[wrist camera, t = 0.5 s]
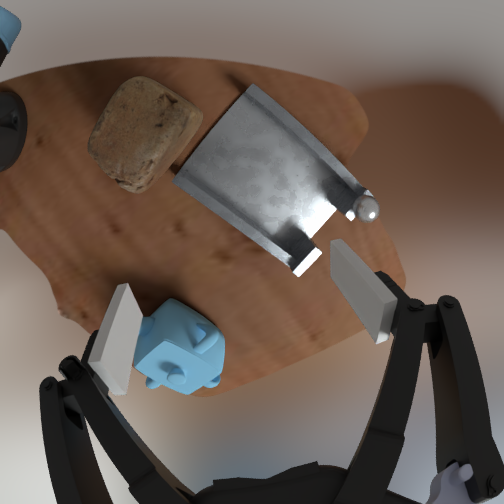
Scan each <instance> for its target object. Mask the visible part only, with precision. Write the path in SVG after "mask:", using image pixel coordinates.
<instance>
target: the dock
mask: <svg viewBox="0 0 504 504" xmlns="http://www.w3.org/2000/svg"><path fill="white" fill-rule="evenodd" d="M172 182H173V183H174V184H175V185H177V186H178V187H180V188H181V189H182V190H184V191H185V192H187V193H188V194H189V195H191V196H192V197H194V198H195V199H196V200H198V201H199V202H201V203H202V204H203V205H205V206H206V207H208V208H209V209H210V210H212V211H213V212H215V213H216V214H217V215H219V216H220V217H222V218H223V219H224V220H226V221H227V222H228V223H230V224H231V225H233V226H234V227H235V228H237V229H238V230H240V231H241V232H242V233H244V234H245V235H246V236H248V237H249V238H251V239H252V240H253V241H255V242H256V243H258V244H259V245H260V246H262V247H263V248H264V249H266V250H267V251H269V252H270V253H271V254H273V255H274V256H275V257H277V258H278V259H279V260H281V261H282V262H284V263H285V264H286V265H288V266H289V267H290V268H291V270H292V272H293V273H294V274H296V275H297V276H298V277H299V276H300V275H301V274H302V273H303V272H304V271H305V270H306V269H307V268H308V267H309V266H310V265H311V264H312V263H313V262H314V261H315V260H316V259H317V258H318V256H319V255H320V254H321V253H322V252H321V251H320V249H319V248H318V247H317V246H316V244H315V243H314V242H313V240H312V239H311V237H312V236H313V235H314V234H315V233H316V231H317V230H318V229H319V228H320V227H321V226H322V225H323V224H324V223H325V222H326V220H327V219H328V218H329V217H330V216H331V215H332V214H333V213H334V212H335V210H336V209H337V210H338V211H339V212H341V213H342V214H343V215H345V216H346V217H347V218H348V219H350V220H352V219H353V218H354V217H356V218H357V219H358V220H359V221H361V222H364V223H370V222H373V221H374V220H375V219H376V218H377V217H378V215H379V212H380V206H379V203H378V202H377V200H376V199H375V198H374V197H373V195H372V194H371V193H370V192H369V191H368V189H366V188H364V187H362V186H361V185H360V183H359V182H358V181H357V180H356V179H355V178H354V177H353V176H352V175H351V173H350V172H349V171H348V170H347V169H346V168H345V167H344V166H343V165H342V164H341V163H340V162H339V161H338V160H337V159H336V158H335V157H334V156H333V154H332V153H331V152H330V151H329V150H328V149H327V148H326V147H325V146H324V145H323V144H322V143H321V142H319V141H318V140H317V139H316V138H315V137H314V136H313V135H312V134H311V133H310V132H309V131H308V130H307V129H306V128H305V127H304V126H303V125H302V124H300V123H299V122H298V121H297V120H296V119H295V118H294V117H293V116H292V115H290V114H289V113H288V112H287V111H286V110H285V109H284V108H282V107H281V106H280V105H279V104H278V103H277V102H275V101H274V100H273V99H272V98H271V97H269V96H268V95H267V94H266V93H265V92H263V91H262V90H261V89H260V88H258V87H257V86H256V85H255V84H252V85H251V86H250V87H249V88H248V89H247V90H246V91H245V92H244V93H243V94H242V95H241V97H240V98H239V99H238V100H237V101H236V102H235V103H234V104H233V105H232V107H231V108H230V109H229V110H228V111H227V112H226V113H225V115H224V116H223V117H222V118H221V119H220V120H219V122H218V123H217V124H216V125H215V126H214V128H213V129H212V130H211V131H210V132H209V134H208V135H207V136H206V137H205V139H204V140H203V141H202V142H201V143H200V145H199V146H198V147H197V149H196V150H195V151H194V152H193V154H192V155H191V156H190V158H189V159H188V160H187V161H186V163H185V164H184V165H183V167H182V168H181V169H180V171H179V172H178V173H177V175H176V176H175V178H174V179H173V180H172Z"/></svg>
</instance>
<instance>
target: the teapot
mask: <svg viewBox="0 0 504 504" xmlns="http://www.w3.org/2000/svg"><path fill="white" fill-rule="evenodd" d="M224 354H225V339H224V336H223V334H222V332H221V331H220V330H219V329H218V328H217V327H216V326H215V325H214V324H212V323H211V322H210V321H209V320H207V319H206V318H205V317H203V316H202V315H200V314H199V313H197V312H196V311H194V310H193V309H191V308H189V307H188V306H186V305H184V304H183V303H181V302H179V301H177V300H175V299H173V298H169V299H168V300H167V301H165V302H164V303H163V304H162V305H161V306H160V307H159V308H158V309H157V310H156V311H155V312H154V313H153V314H152V315H151V316H150V317H143V318H142V322H141V326H140V330H139V334H138V338H137V343H136V347H135V352H134V367H135V368H136V369H137V370H139V371H140V372H141V373H143V374H144V375H146V376H148V377H147V379H146V386H147V387H148V388H150V389H154V388H157V387H158V386H160V385H161V384H162V385H164V386H166V387H169V388H171V389H173V390H176V391H178V392H180V393H183V394H190V393H192V392H194V391H195V390H197V389H199V388H200V387H202V386H205V387H208V388H212V387H215V386H217V385H218V384H219V382H220V375H219V374H220V373H221V372H222V368H223V362H224ZM211 380H212V381H211Z"/></svg>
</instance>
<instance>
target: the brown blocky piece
mask: <svg viewBox="0 0 504 504" xmlns="http://www.w3.org/2000/svg"><path fill="white" fill-rule="evenodd" d="M202 119H203V114H202V112H201V110H200V109H199V108H198V107H196V106H195V105H194V104H192V103H191V102H189V101H187V100H186V99H184V98H183V97H181V96H180V95H178V94H176V93H175V92H173V91H171V90H170V89H168V88H166V87H165V86H163V85H161V84H160V83H158V82H156V81H154V80H153V79H150V78H148V77H143V76H137V77H133V78H131V79H129V80H127V81H125V82H124V83H123V84H122V85H120V86H119V88H118V89H117V90H116V92H115V93H114V94H113V96H112V97H111V99H110V101H109V103H108V104H107V106H106V108H105V109H104V111H103V112H102V114H101V116H100V117H99V119H98V121H97V123H96V125H95V127H94V129H93V131H92V134H91V136H90V138H89V142H88V152H89V154H90V155H91V157H92V158H93V159H94V160H95V161H96V162H97V163H98V165H99V167H100V168H101V169H102V170H103V171H104V172H105V173H106V174H107V175H108V176H109V177H111V178H112V179H115V180H116V181H117V183H118V185H119V186H120V187H122V188H123V189H126V190H127V191H129V192H132V193H136V194H138V193H142V192H144V191H146V190H147V189H149V188H150V187H151V186H152V185H153V184H154V183H155V182H156V181H157V180H158V179H159V178H160V177H161V176H162V175H163V173H164V172H165V171H166V170H167V169H168V168H169V167H170V165H171V164H172V163H173V162H174V161H175V160H176V158H177V157H178V156H179V155H180V153H181V152H182V151H183V150H184V148H185V147H186V146H187V144H188V143H189V142H190V140H191V139H192V138H193V136H194V135H195V133H196V132H197V130H198V129H199V127H200V125H201V123H202Z"/></svg>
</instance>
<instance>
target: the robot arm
mask: <svg viewBox="0 0 504 504" xmlns="http://www.w3.org/2000/svg"><path fill="white" fill-rule="evenodd" d="M20 30H21V21H20V20H19V18H17V17H16V16H15V15H14V14H12V13H11V12H9V11H8V10H6V9H5V8H3V7H1V6H0V67H1V65H2V63H3V61H4V59H5V57H6V55H7V54H8V53H9V52H10V49H11V46H12V44H13V42H14V41H15V39H16V37H17V36H18V34H19V32H20ZM26 133H27V113H26V108H25V105H24V103H23V101H22V99H21V98H20V97H19V96H18V95H17V94H16V93H13V92H0V172H2V171H4V170H7V169H8V168H10V167H11V166H12V165H13V164H14V163H15V161H16V160H17V159H18V157H19V155H20V153H21V151H22V148H23V146H24V142H25V138H26ZM330 259H331V278H332V280H333V281H334V282H335V284H336V285H337V287H338V288H339V290H340V291H341V292H342V294H343V295H344V297H345V298H346V300H347V301H348V303H349V304H350V306H351V307H352V308H353V310H354V311H355V313H356V314H357V316H358V317H359V319H360V320H361V322H362V323H363V325H364V326H365V328H366V329H367V331H368V332H369V334H370V335H371V337H372V338H373V340H374V341H375V343H376V344H378V343H381V342H383V341H386V340H388V339H389V335H390V331H391V333H392V334H393V336H394V339H393V343H392V346H391V351H390V355H389V359H388V363H387V366H386V370H385V373H384V377H383V380H382V383H381V386H380V390H379V393H378V396H377V399H376V402H375V405H374V407H373V410H372V413H371V416H370V419H369V421H368V424H367V426H366V429H365V431H364V434H363V436H362V439H361V441H360V443H359V446H358V448H357V450H356V452H355V455H354V457H353V459H352V461H351V463H350V465H349V467H348V469H344V468H341V467H337V466H331V465H318V462H317V461H316V462H312V463H308V464H304V465H301V466H297V467H293V468H290V469H288V470H286V471H284V472H282V473H279V474H277V475H275V476H272V477H271V478H268V479H253V478H239V477H237V478H229V479H219V480H213V485H211V486H209V487H206V488H205V489H203V490H201V491H200V492H198V493H197V494H195V493H194V492H192V491H191V490H190V489H189V488H187V487H186V486H185V485H184V484H182V483H181V482H180V481H179V480H178V479H177V478H176V477H175V476H174V475H173V474H172V473H171V472H170V471H169V470H168V469H167V468H166V467H165V465H164V464H163V463H162V462H161V461H160V460H159V459H158V458H157V457H156V456H155V455H154V454H153V452H152V451H151V450H150V449H149V448H148V447H147V445H146V444H145V443H144V442H143V441H142V439H141V438H140V437H139V436H138V434H137V433H136V432H135V431H134V430H133V428H132V427H131V426H130V424H129V423H128V422H127V420H126V419H125V418H124V416H123V415H122V414H121V412H120V411H119V409H118V408H117V407H116V405H115V404H114V403H113V401H112V400H111V398H110V397H109V396H108V391H109V390H110V391H111V392H112V393H113V394H114V395H126V393H127V387H128V381H129V377H130V372H131V366H132V362H133V357H134V352H135V347H136V343H137V338H138V334H139V330H140V326H141V322H142V318H143V315H142V313H141V311H140V308H139V306H138V304H137V302H136V300H135V298H134V296H133V293H132V291H131V289H130V287H129V284H128V283H125V284H120V285H118V286H117V288H116V290H115V292H114V295H113V297H112V299H111V302H110V304H109V307H108V309H107V311H106V314H105V316H104V319H103V321H102V324H101V327H100V329H99V330H95V331H94V332H93V333H92V335H91V336H90V338H89V340H88V344H87V345H86V348H85V349H86V350H85V351H84V354H83V356H82V359H81V362H80V360H79V359H78V358H77V357H76V356H74V355H71V356H68V357H66V358H64V359H63V360H62V361H61V363H60V364H59V372H60V373H61V374H62V375H63V377H64V378H65V380H62V381H59V382H58V381H57V380H56V379H55V378H54V377H51V376H50V377H47V378H45V379H44V380H43V381H42V382H41V384H40V388H39V389H40V390H39V393H40V411H41V423H42V431H43V440H44V446H45V453H46V458H47V464H48V468H49V474H50V478H51V482H52V486H53V490H54V494H55V497H56V501H57V504H113V502H112V500H111V498H110V495H109V492H108V490H107V488H106V485H105V482H104V480H103V477H102V475H101V472H100V469H99V466H98V463H97V460H96V457H95V454H94V451H93V447H92V444H91V440H90V437H89V433H88V429H87V425H86V421H85V418H86V420H87V421H88V423H89V425H90V427H91V429H92V430H93V432H94V434H95V435H96V437H97V439H98V440H99V442H100V444H101V445H102V447H103V448H104V450H105V452H106V453H107V455H108V456H109V458H110V459H111V461H112V462H113V464H114V465H115V466H116V468H117V469H118V471H119V472H120V473H121V475H122V476H123V477H124V479H125V480H126V481H127V483H128V484H129V488H128V489H129V491H130V493H131V494H132V495H133V497H134V498H135V499H136V500H137V502H138V503H139V504H421V503H419V502H416V501H413V500H411V499H409V498H406V497H404V496H401V495H399V494H396V493H394V492H392V491H390V490H387V488H388V485H389V483H390V480H391V478H392V475H393V473H394V470H395V468H396V465H397V462H398V459H399V456H400V453H401V450H402V447H403V444H404V440H405V437H404V431H405V427H406V424H407V421H408V417H409V413H410V409H411V405H412V401H413V396H414V392H415V387H416V382H417V377H418V372H419V366H420V360H421V353H422V346H423V343H427V346H428V353H429V359H430V366H431V373H432V381H433V391H434V402H435V418H436V465H437V473H438V474H437V475H436V476H435V477H434V479H433V480H432V482H431V486H430V497H429V499H428V501H427V503H426V504H481V503H483V502H485V501H488V500H490V499H492V498H494V497H496V496H498V495H499V494H500V493H501V492H502V491H503V489H504V464H503V461H502V459H501V456H500V454H499V451H498V449H497V447H496V444H495V442H494V440H493V437H492V432H491V424H490V416H489V409H488V403H487V398H486V393H485V387H484V383H483V378H482V374H481V370H480V366H479V362H478V358H477V354H476V351H475V347H474V344H473V341H472V337H471V335H470V332H469V328H468V325H467V322H466V319H465V317H464V314H463V311H462V308H461V306H460V303H459V301H458V300H457V299H456V298H455V297H452V296H449V295H444V296H441V297H440V298H439V300H438V302H437V304H430V305H425V304H424V303H423V302H422V301H420V300H418V299H413V298H409V296H407V295H406V293H405V292H404V291H403V290H402V289H401V288H400V287H399V286H398V285H397V284H396V283H395V282H394V281H393V280H392V279H391V278H390V276H389V275H387V274H385V273H383V272H382V271H378V272H375V273H374V272H373V271H372V270H371V269H370V268H369V267H368V266H367V265H366V264H365V263H364V262H363V261H362V260H361V259H360V258H359V257H358V255H357V254H356V253H355V252H354V251H353V250H352V249H351V248H350V247H349V246H348V245H347V244H346V243H345V242H344V241H343V240H342V239H337V240H332V241H330ZM84 416H85V417H84Z"/></svg>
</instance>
